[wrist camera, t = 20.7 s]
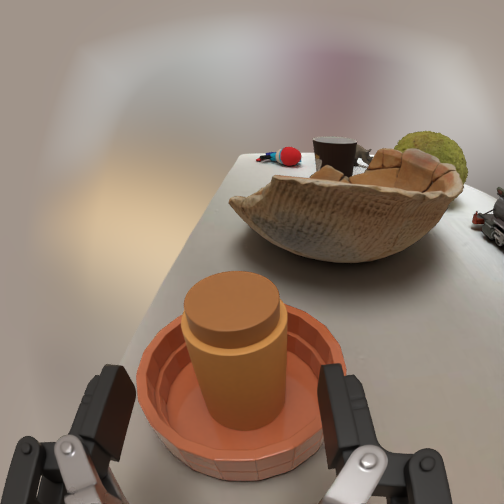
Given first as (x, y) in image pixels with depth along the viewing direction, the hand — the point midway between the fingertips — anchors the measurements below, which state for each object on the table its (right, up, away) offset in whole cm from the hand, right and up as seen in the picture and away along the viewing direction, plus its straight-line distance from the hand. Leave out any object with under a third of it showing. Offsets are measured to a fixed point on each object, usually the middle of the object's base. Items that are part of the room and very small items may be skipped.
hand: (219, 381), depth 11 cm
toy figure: (+9, +29, +67) cm, 74 cm away
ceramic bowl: (+14, +6, +28) cm, 32 cm away
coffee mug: (+18, +18, +49) cm, 55 cm away
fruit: (+36, +16, +42) cm, 57 cm away
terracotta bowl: (+1, -6, +9) cm, 10 cm away
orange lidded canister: (+1, -5, +8) cm, 10 cm away
